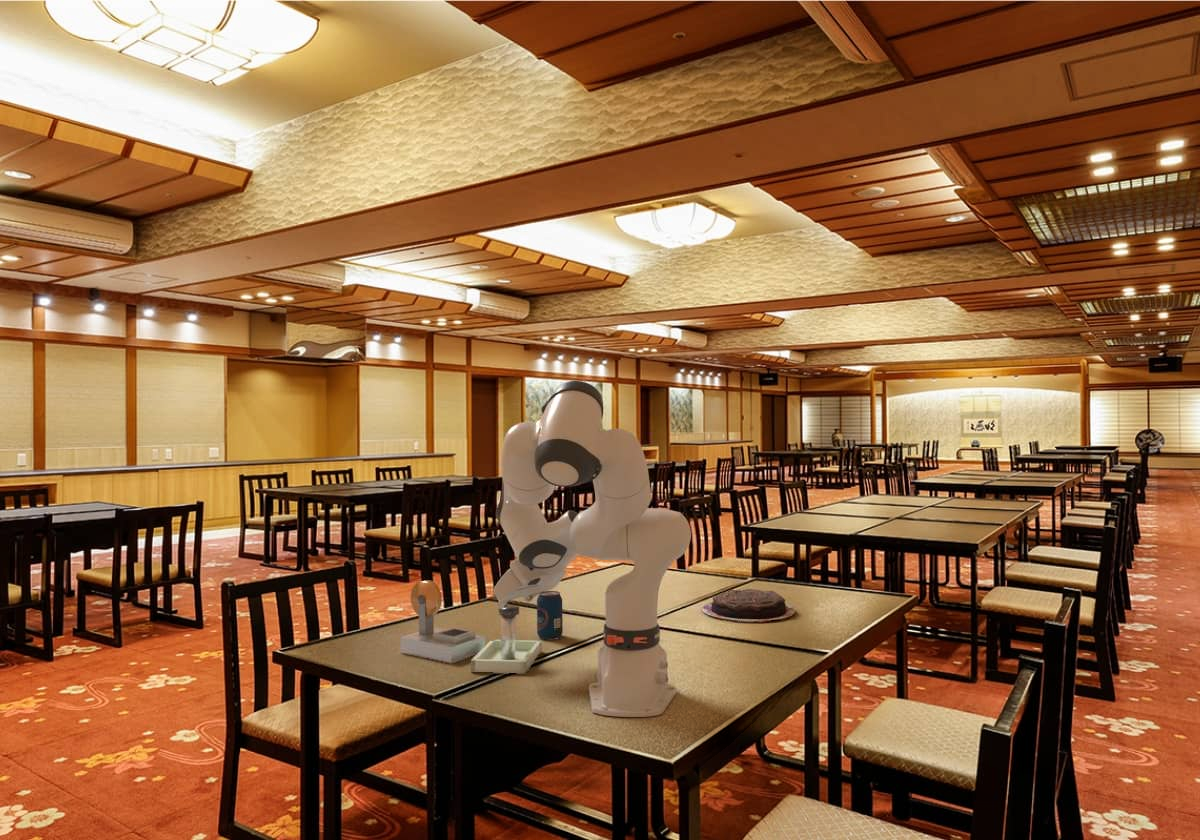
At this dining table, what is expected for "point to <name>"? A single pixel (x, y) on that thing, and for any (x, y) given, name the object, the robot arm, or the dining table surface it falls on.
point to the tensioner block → (437, 630)
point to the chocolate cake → (748, 606)
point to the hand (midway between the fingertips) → (513, 602)
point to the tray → (491, 660)
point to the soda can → (549, 615)
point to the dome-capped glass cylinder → (508, 631)
